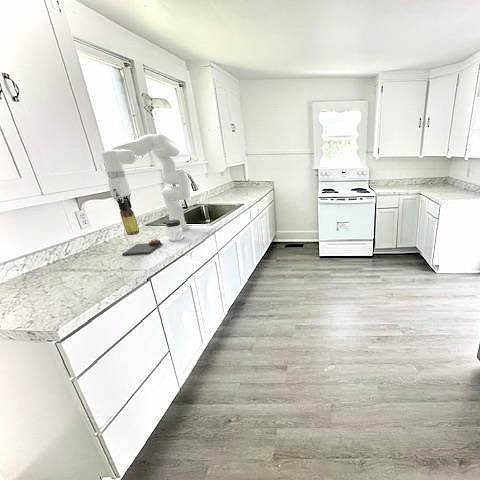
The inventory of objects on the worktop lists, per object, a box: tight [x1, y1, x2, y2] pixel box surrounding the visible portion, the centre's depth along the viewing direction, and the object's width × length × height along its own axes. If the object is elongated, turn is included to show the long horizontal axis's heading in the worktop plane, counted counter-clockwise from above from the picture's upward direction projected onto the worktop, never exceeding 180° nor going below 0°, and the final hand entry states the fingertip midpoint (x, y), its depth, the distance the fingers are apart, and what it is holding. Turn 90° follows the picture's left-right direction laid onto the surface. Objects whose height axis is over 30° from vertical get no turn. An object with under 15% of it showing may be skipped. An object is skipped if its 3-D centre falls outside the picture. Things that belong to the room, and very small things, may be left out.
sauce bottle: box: [119, 199, 140, 236], centre depth 145 cm, size 6×6×20 cm
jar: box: [165, 219, 184, 242], centre depth 170 cm, size 9×8×12 cm
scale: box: [121, 239, 163, 257], centre depth 154 cm, size 16×14×3 cm
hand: (126, 208), depth 144 cm, fingers closed on sauce bottle, 4 cm apart
